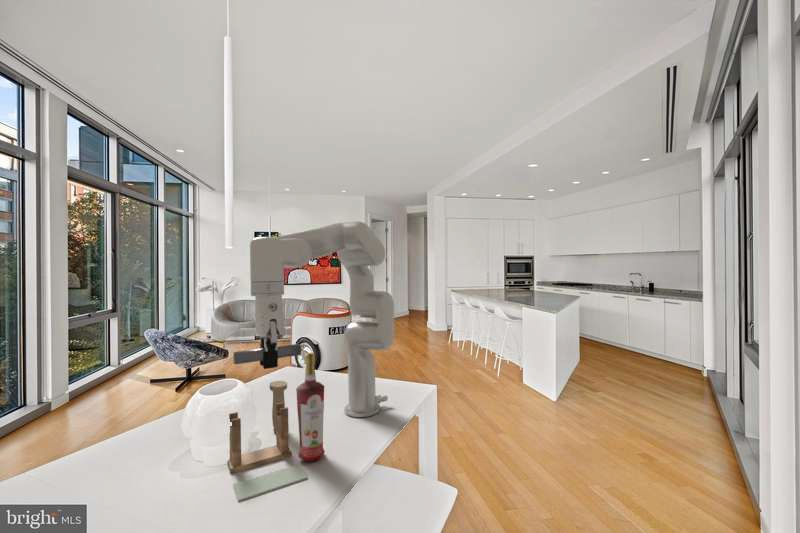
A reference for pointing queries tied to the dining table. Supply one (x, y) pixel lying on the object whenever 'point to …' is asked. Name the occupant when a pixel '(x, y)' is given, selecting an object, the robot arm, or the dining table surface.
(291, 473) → the mat
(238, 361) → the rail
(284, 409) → the hook stand
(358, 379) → the robot arm
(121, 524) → the dining table surface
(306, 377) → the liquor
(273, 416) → the handle
